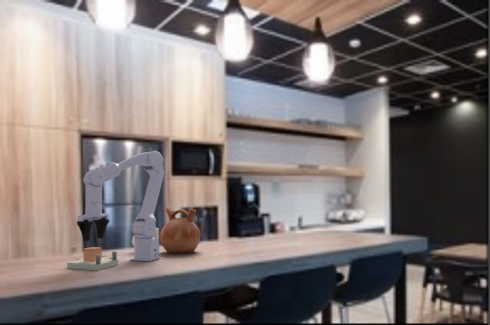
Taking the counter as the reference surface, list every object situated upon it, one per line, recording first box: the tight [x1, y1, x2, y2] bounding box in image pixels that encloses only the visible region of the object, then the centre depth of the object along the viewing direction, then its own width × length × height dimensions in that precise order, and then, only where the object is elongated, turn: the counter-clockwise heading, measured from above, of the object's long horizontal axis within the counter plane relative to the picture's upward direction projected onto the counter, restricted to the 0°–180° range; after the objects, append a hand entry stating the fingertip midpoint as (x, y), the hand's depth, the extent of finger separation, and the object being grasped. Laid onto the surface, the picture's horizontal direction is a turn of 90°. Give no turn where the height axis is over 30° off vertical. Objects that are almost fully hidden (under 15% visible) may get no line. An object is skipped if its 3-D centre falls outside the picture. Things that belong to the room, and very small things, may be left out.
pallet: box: [75, 255, 112, 261], centre depth 167 cm, size 12×9×1 cm
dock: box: [66, 251, 119, 271], centre depth 155 cm, size 14×11×5 cm
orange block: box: [83, 246, 103, 262], centre depth 155 cm, size 5×5×4 cm
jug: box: [159, 207, 201, 255], centre depth 188 cm, size 18×18×20 cm
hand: (93, 239), depth 156 cm, fingers open, 7 cm apart
